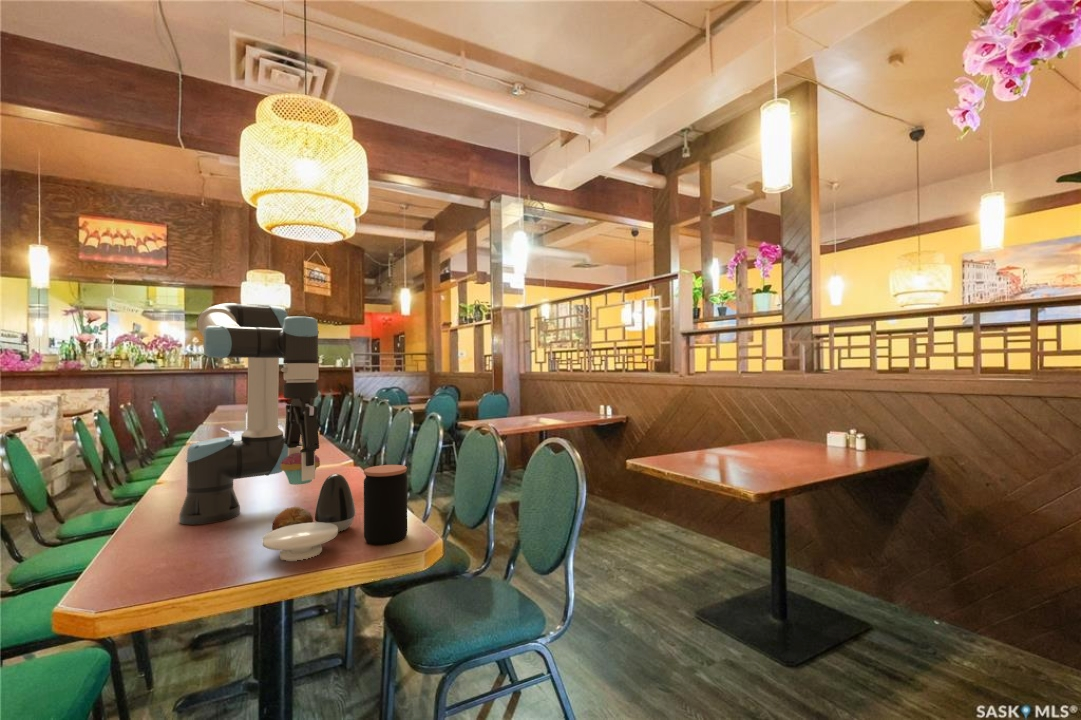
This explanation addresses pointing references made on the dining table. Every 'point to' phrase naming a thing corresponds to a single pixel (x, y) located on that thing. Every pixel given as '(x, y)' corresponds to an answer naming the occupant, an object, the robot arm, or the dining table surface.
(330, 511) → the black egg shaped dome
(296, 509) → the bread roll
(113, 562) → the dining table surface
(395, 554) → the dining table surface
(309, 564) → the dining table surface
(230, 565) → the dining table surface
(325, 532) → the cake stand
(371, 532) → the coffee jar
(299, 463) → the cupcake
